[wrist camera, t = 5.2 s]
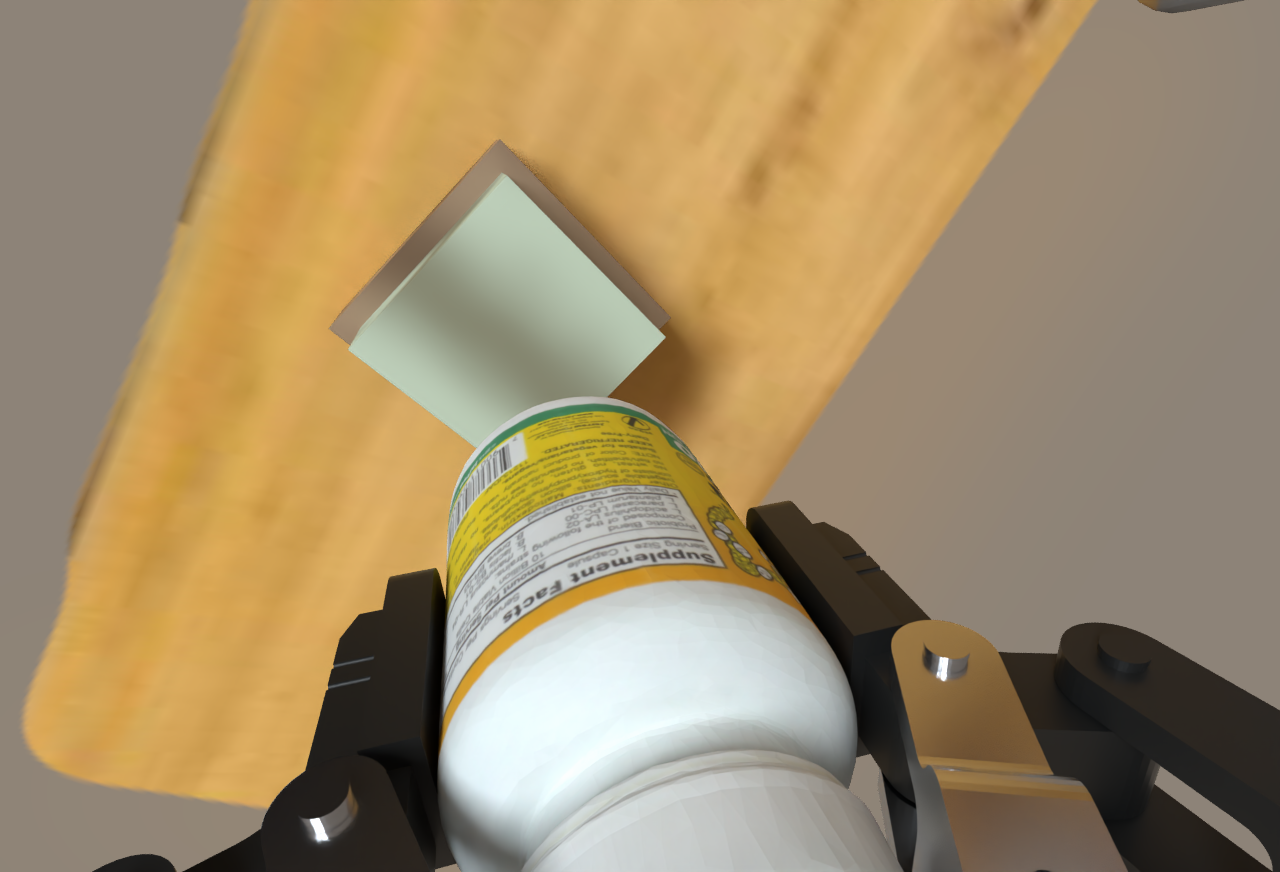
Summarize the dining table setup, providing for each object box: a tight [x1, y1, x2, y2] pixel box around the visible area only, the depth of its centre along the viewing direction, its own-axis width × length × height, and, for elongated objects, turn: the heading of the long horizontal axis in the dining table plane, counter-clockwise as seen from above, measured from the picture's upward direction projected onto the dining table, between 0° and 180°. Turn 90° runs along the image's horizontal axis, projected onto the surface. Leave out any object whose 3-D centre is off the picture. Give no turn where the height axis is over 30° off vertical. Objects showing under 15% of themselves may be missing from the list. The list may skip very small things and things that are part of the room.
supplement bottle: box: [437, 396, 904, 872], centre depth 10 cm, size 5×5×10 cm
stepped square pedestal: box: [329, 140, 671, 448], centre depth 26 cm, size 9×9×6 cm
